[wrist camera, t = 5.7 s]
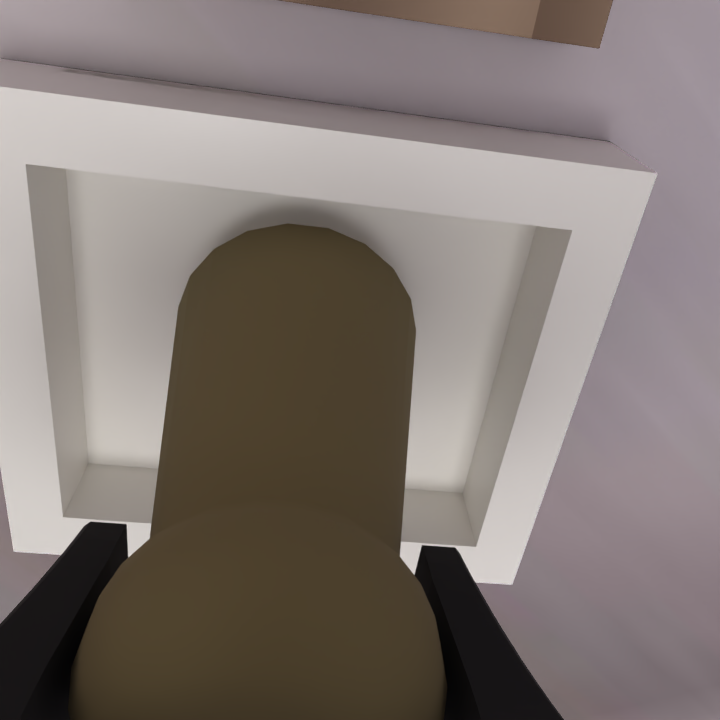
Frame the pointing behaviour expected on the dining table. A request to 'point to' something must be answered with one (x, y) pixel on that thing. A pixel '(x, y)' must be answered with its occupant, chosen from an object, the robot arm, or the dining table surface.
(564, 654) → the dining table surface
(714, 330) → the dining table surface
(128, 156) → the cream tray
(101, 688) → the cork
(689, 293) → the dining table surface
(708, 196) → the dining table surface
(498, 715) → the robot arm
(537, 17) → the walnut socket
